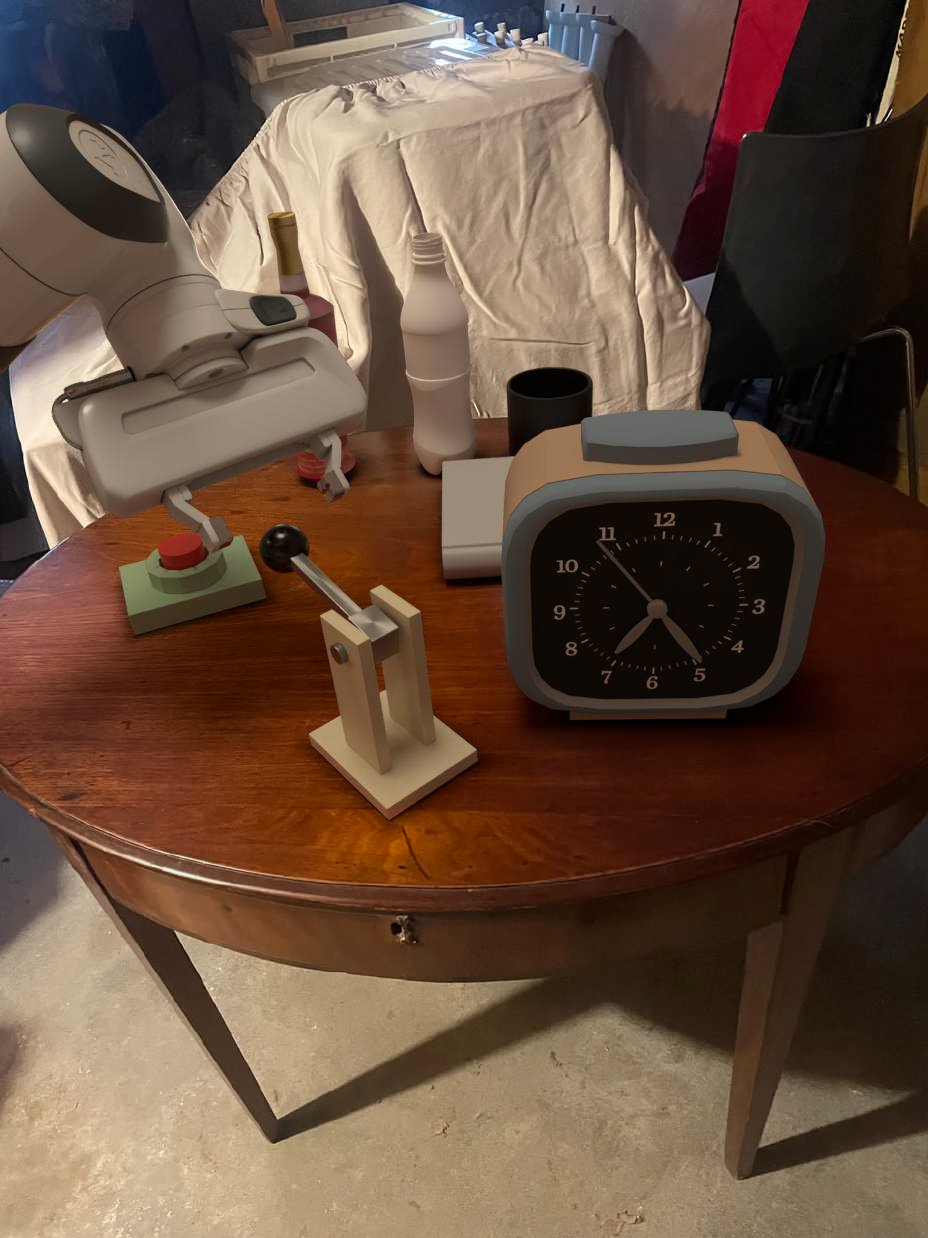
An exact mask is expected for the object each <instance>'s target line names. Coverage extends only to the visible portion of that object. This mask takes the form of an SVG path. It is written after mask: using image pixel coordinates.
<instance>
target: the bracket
mask: <svg viewBox="0 0 928 1238" xmlns="http://www.w3.org/2000/svg"><path fill="white" fill-rule="evenodd" d="M369 593H370V600H371V605H373V604H375V605H376V606H377V607H378V608H379V609H380V610H381V611H382V612H383V613H384V614H385V615H386V616H387V617H389V618H390V619H391V620H392V621H393V622H394V623H395V624H396V625H397V626H398V627H399V652H398V653H397V654H395V655H393V656H391V657H389V658H388V659H386V660H384V661H382V662H381V668H382V669H381V670H382V674H383V680H384V686H385V687H384V688H385V689H383V690H382V691H380V689H379V683H378V676H377V671H376V665H375V664H374V658H373V652H372V646H371V640H370V638H369V637H368V636H367V635H365V634H364V633H363V632H361V631H360V630H359V629H357V628H356V627H355V626H353V625H352V624H351V623H349V622H348V621H347V620H346V619H344V618H343V617H342V616H340V615H339V614H338V613H336V612H335V611H334V610H333V609H330V610H328V611H325V612H323V613H322V614H320V615H319V619H320V624H321V628H322V633H323V638H324V644H325V648H326V652H327V657H328V662H329V666H330V672H331V676H332V681H333V686H334V692H335V695H336V696H335V697H336V700H337V706H338V709H339V716H337V717H335V718H333V719H332V720H329V722H326V723H325V724H323V725H322V726H321V725H320V726H319V727H318V728H316V729H314V730H312V731H311V732H309V733H308V738H309V741H310V745H311V746H312V748H314V749H315V750H316V751H317V752H318V753H319V754H320V755H321V756H322V757H323V758H324V759H325V760H326V761H327V762H329V764H330V765H331V766H332V767H333V768H335V770H337V771H338V772H339V774H341V776H343V778H345V779H346V780H347V781H348V782H349V784H351V785H352V786H353V787H354V788H355V789H356V790H357V791H358V793H360V794H361V795H362V796H363V797H364V798H365V799H366V800H367V801H368V802H370V804H372V805H373V806H374V808H376V809H377V810H378V811H379V812H380V813H381V814H382V815H383V817H385V818H386V819H387V820H388V821H390V820H392V819H393V818H395V817H396V816H398V815H399V814H401V813H402V812H404V811H405V810H407V809H409V808H410V807H412V806H413V805H415V804H416V803H417V802H418V801H420V800H422V799H424V798H425V797H426V796H428V795H429V794H431V793H433V792H434V791H435V790H437V789H438V788H440V787H442V786H443V785H444V784H446V783H447V782H449V781H450V780H452V779H454V778H455V777H456V776H458V775H459V774H461V773H462V772H464V771H466V769H469V768H470V767H471V766H473V765H474V764H476V763H477V762H479V759H478V750H477V748H476V747H474V746H473V745H472V744H470V743H469V742H468V741H466V739H464V738H463V737H461V735H459V734H457V732H455V731H454V730H453V729H452V728H450V727H449V726H447V724H445V723H444V721H443V722H442V721H441V720H440V719H439V718H437V717H436V716H435V715H434V711H433V710H434V709H433V701H432V694H431V693H432V692H431V684H430V678H429V676H430V675H429V670H428V669H429V668H428V661H427V654H426V653H427V652H426V645H425V636H424V627H423V620H422V619H423V618H422V611H421V610H420V609H418V608H416V607H415V606H414V605H412V604H410V602H408V601H406V600H405V599H403V598H402V597H400V596H399V595H398V594H396V593H394V592H393V591H391V589H389V588H387V587H386V586H384V584H380V585H378V586H376V587H374V588H372V589H370V590H369Z"/></svg>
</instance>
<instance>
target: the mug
mask: <svg viewBox="0 0 928 1238" xmlns="http://www.w3.org/2000/svg"><path fill="white" fill-rule="evenodd" d="M505 388H506V389H505V390H506V409H507V435H508V455H509V456H508V457H514V456H516V454H517V453H518V452H519V450H520V449H521V448H522V447H523V445H524V444H526V443H527V442H529V441H530V440H532V439H533V438H535V437H536V436H538V435H539V434H541V433H542V432H544V431H545V430H551V429H556V428H561V427H567V426H572V425H577V424H581V421H582V420H583V419H584V418H588V417H593V399H594V397H593V396H594V383H593V378H592V377H591V375H589V374H588V373H586V372H585V371H582V370H579V369H576V368H572V367H571V368H570V367H564V366H543V367H535V368H530V369H526V370H524V371H523V370H522V371H520V372H518V373H516V374H514V375H512V376H511V377H510V378H509V379H508V380H507V382H506V387H505Z"/></svg>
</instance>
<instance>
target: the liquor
mask: <svg viewBox="0 0 928 1238" xmlns="http://www.w3.org/2000/svg"><path fill="white" fill-rule="evenodd" d="M266 217H267V222H268V228H269V233H270V237H271V239H272V242H273V245H274V248H275V251H276V262H277V273H278V283H279V294H288V295H295V296H298V297H300V298H301V299H302V300H303V301H304V302H305V304H306V306H307V308H308V310H309V312H310V318H309V322H308V326H307V327H309V328H313V329H316V330H319V331H320V332H322V333H323V334H325V335H326V336H327V337H328V338H329V339H330V340H331V341H332V342H333V343H334V344H335V345H336V347H337V348H338V350H339V351H340V349H339V341H338V333H337V326H336V324H337V323H336V317H335V316H336V315H335V306H334V304H333V303H331V302H330V301H329V300H327V299H325V298H324V297H323V296H321V295H319V294H314V293H311V291H310V288H309V284H308V280H307V276H306V272H305V267H304V263H303V260H302V256H301V253H300V249H299V229H298V223H297V217H296V213H295V212H294V211H278V212H274V213H270V214H268V215H267V216H266ZM339 439H340V440H341V468H340V469H341V471H342V473H343V475H344V476H345V477H346V476H347V474H348V473H349V472H350V471H351V470H352V469H353V468H354V467H355V465H356V459H355V457H354V456H353V455H352V453H351V449H350V441H349V434H347V435H344V436H341V437H339ZM296 457H297V463H296V465H295V472H296V473H297V475H299V476H300V477H303V479H306V480H308V481H309V482H310V483H313V484H316V485H317V483H318V482H319V481H320V480H321V477H322V476H323V475H324V474H325V457H323V458H321V459H317V458H316V456H315V454H314V453H313V451H312V449H311V448H310V449H307V450H304V451H302V452H299V453H296Z"/></svg>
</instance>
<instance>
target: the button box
mask: <svg viewBox="0 0 928 1238" xmlns="http://www.w3.org/2000/svg"><path fill="white" fill-rule="evenodd" d="M203 544H204V542H203ZM204 548H205V551H206V559H205V561H203V562H201V563H200V564H198V565H196V566H195V567H192V568H188V569H184V570H167V569H165V568H164V567H163V564H162V561H161V558H160V555H159V552H158V548H156V549H154V550H153V551H151V553H150V554H149V556H148V557H147V558H146V559H144V560H140V561H135V562H132V563H128V564H125V565H120V566H119V567H118V570H119V575H120V580H121V585H122V591H123V596H124V601H125V606H126V611H127V615H128V616H127V617H128V619H129V622H130V625H131V627H132V630H133V632H134V635H135V636H138V635H141V634H145V633H149V632H151V631H155V630H159V629H162V628H166V627H169V626H173V625H177V624H181V623H183V622H186V621H191V620H194V619H198V618H202V617H205V616H208V615H212V614H215V613H219V612H223V611H226V610H230V609H233V608H236V607H240V606H244V605H247V604H250V603H255V602H259V601H261V600H266V599H267V595H266V591H265V587H264V583H263V579H262V576H261V574H260V572H259V570H258V568H257V565H256V563H255V560H254V558H253V556H252V553H251V551H250V549H249V547H248V545H247V542H246V540H245V538H244V535H243V534H240V535H235V536H233V541H232V542H231V545H230V546H227V547H225V548H223V549H221V550H218V551H216V552H213V553H210V552H209V551H208V550H207V548H206V546H205V544H204Z"/></svg>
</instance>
